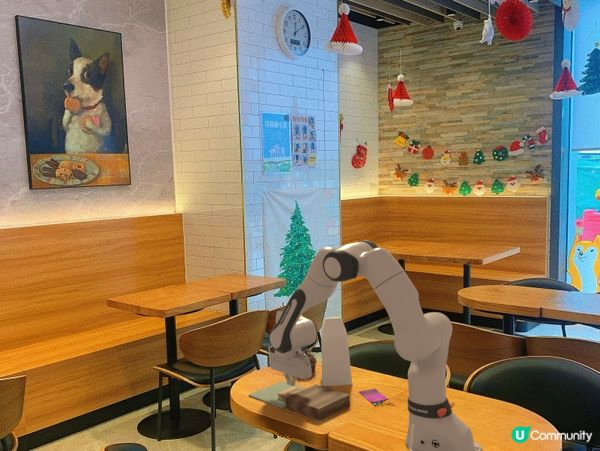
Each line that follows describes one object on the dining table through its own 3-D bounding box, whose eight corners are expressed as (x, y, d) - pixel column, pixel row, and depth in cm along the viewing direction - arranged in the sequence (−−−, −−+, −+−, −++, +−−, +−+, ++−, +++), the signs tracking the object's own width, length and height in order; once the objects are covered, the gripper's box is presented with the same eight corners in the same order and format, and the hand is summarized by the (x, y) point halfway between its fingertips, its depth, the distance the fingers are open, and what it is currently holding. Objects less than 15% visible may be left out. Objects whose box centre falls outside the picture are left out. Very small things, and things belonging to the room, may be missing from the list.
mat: (317, 393, 217) (317, 392, 217) (283, 408, 204) (282, 407, 204) (282, 382, 231) (282, 381, 231) (248, 395, 219) (248, 394, 219)
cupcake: (292, 370, 244) (290, 348, 244) (313, 367, 247) (311, 345, 246) (298, 377, 235) (297, 354, 235) (320, 374, 238) (318, 351, 237)
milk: (322, 386, 224) (318, 322, 222) (322, 376, 236) (318, 315, 234) (352, 384, 224) (348, 320, 222) (350, 374, 235) (347, 313, 233)
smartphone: (374, 408, 201) (374, 406, 201) (358, 393, 215) (358, 390, 215) (393, 405, 203) (393, 402, 203) (375, 390, 218) (375, 387, 217)
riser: (350, 405, 204) (349, 394, 203) (319, 420, 193) (318, 409, 192) (316, 394, 216) (315, 384, 215) (286, 408, 205) (285, 397, 204)
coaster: (308, 396, 213) (307, 391, 213) (292, 403, 208) (292, 397, 207) (293, 391, 219) (293, 386, 219) (278, 398, 213) (277, 392, 213)
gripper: (314, 352, 207) (316, 388, 208) (277, 342, 222) (279, 376, 223) (302, 356, 203) (304, 394, 204) (265, 346, 218) (267, 381, 219)
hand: (291, 385), depth 214 cm, fingers closed
